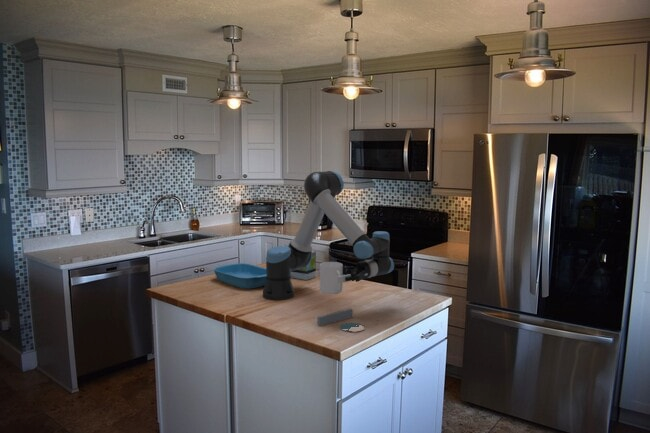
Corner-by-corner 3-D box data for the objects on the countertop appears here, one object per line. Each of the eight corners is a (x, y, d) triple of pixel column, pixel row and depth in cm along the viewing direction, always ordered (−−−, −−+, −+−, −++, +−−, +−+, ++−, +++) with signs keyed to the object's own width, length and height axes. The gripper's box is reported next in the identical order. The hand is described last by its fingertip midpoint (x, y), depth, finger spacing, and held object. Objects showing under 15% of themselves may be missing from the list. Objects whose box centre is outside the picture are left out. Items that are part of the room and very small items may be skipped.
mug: (331, 287, 223) (331, 260, 222) (351, 293, 215) (351, 265, 213) (314, 291, 217) (315, 264, 215) (335, 297, 208) (335, 269, 207)
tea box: (316, 277, 288) (316, 250, 286) (306, 280, 280) (306, 253, 278) (294, 273, 296) (294, 247, 294) (283, 276, 288) (283, 250, 286)
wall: (319, 326, 209) (319, 317, 209) (317, 325, 211) (317, 316, 210) (352, 317, 221) (352, 309, 220) (349, 316, 222) (350, 308, 222)
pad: (342, 333, 202) (342, 332, 202) (337, 324, 212) (337, 323, 212) (367, 331, 204) (367, 330, 204) (361, 323, 214) (361, 322, 213)
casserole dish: (206, 279, 281) (206, 266, 280) (240, 272, 296) (240, 260, 295) (247, 293, 255) (247, 279, 254) (282, 285, 271) (282, 272, 270)
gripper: (385, 283, 218) (347, 292, 204) (346, 272, 236) (309, 280, 223) (385, 265, 217) (348, 273, 203) (346, 256, 235) (309, 262, 222)
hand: (327, 277), depth 213 cm, fingers closed on mug, 12 cm apart
